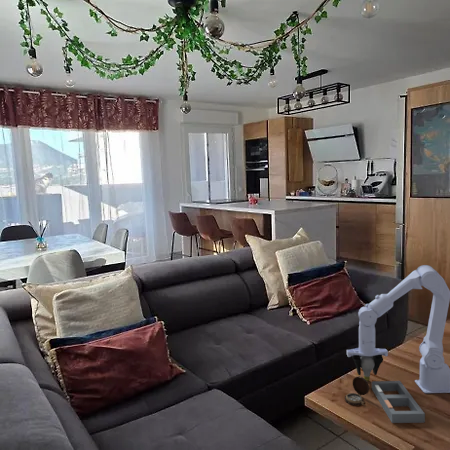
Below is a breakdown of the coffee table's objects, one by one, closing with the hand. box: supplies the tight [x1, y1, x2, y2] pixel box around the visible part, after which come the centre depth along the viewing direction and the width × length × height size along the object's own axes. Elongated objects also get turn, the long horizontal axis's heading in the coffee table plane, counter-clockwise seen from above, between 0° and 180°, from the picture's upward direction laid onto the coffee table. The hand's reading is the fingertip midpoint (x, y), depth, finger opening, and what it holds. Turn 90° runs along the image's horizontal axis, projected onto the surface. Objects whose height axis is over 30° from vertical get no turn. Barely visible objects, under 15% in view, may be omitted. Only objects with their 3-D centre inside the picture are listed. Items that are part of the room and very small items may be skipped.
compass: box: [344, 375, 370, 406], centre depth 132 cm, size 8×8×7 cm
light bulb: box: [360, 356, 375, 382], centre depth 144 cm, size 6×6×10 cm
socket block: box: [371, 380, 426, 424], centre depth 129 cm, size 10×19×3 cm, turn 177°
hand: (366, 373), depth 144 cm, fingers closed on light bulb, 5 cm apart
